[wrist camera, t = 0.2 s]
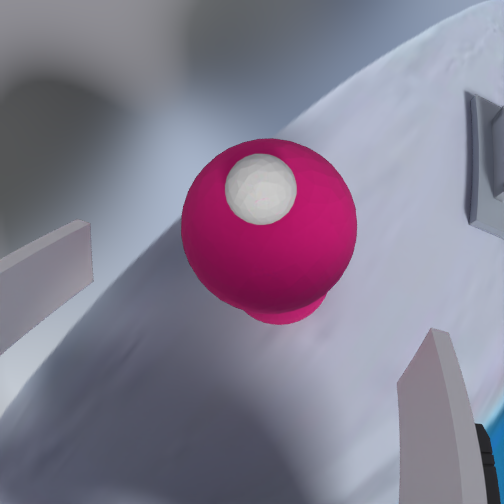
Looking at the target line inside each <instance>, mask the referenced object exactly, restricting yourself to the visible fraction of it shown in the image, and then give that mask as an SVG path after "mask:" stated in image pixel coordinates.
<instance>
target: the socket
mask: <svg viewBox="0 0 504 504" xmlns="http://www.w3.org/2000/svg"><path fill="white" fill-rule="evenodd" d="M470 102H471V117H472V143H473V168H472V194H471V209H470V221H469V225H471V226H474V227H476V228H479V229H481V230H483V231H486V232H488V233H490V234H493V235H495V236H497V237H500V238H502V239H504V106H503V107H502V108H501V107H499V106H497V105H495V104H494V103H492V102H490V101H488V100H486V99H484V98H482V97H480V96H478V95H476V94H475V96H474V97H473V98H472V100H471V101H470Z"/></svg>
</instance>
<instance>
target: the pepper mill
mask: <svg viewBox="0 0 504 504" xmlns="http://www.w3.org/2000/svg"><path fill="white" fill-rule="evenodd" d="M181 236H182V242H183V247H184V251H185V254H186V256H187V259H188V261H189V264H190V266H191V267H192V269H193V270H194V272H195V274H196V275H197V277H198V278H199V280H200V281H201V282H202V283H203V284H204V286H205V287H206V288H207V289H208V290H209V291H210V292H212V293H213V294H214V295H215V296H217V297H218V298H219V299H220V300H222V301H224V302H226V303H228V304H230V305H232V306H234V307H236V308H239V309H242V310H244V311H245V312H246V313H247V314H248V315H250V316H252V317H253V318H255V319H257V320H259V321H262V322H264V323H269V324H276V325H282V324H290V323H294V322H297V321H300V320H302V319H304V318H306V317H307V316H309V315H310V314H311V313H313V312H314V311H315V310H316V309H317V308H318V307H319V306H320V304H321V303H322V301H323V300H324V298H325V297H326V294H327V292H328V291H329V290H330V289H331V288H332V287H333V286H334V285H335V284H336V283H337V282H338V280H339V279H340V278H341V276H342V275H343V273H344V271H345V269H346V268H347V266H348V264H349V262H350V260H351V257H352V255H353V251H354V247H355V243H356V236H357V219H356V209H355V205H354V202H353V199H352V196H351V193H350V191H349V189H348V187H347V185H346V183H345V182H344V180H343V178H342V177H341V175H340V174H339V173H338V172H337V170H336V169H335V168H334V167H333V166H332V164H331V163H329V162H328V161H327V160H326V159H325V158H323V157H322V156H321V155H319V154H318V153H316V152H314V151H313V150H311V149H309V148H308V147H305V146H302V145H300V144H297V143H294V142H291V141H286V140H279V139H257V140H252V141H247V142H244V143H241V144H239V145H236V146H233V147H231V148H229V149H227V150H225V151H224V152H222V153H221V154H219V155H217V156H216V157H215V158H214V159H213V160H212V161H211V162H210V163H208V164H207V165H206V166H205V167H204V168H203V169H202V171H201V172H200V173H199V175H198V176H197V177H196V178H195V180H194V182H193V184H192V186H191V187H190V189H189V191H188V194H187V197H186V200H185V203H184V206H183V211H182V222H181Z"/></svg>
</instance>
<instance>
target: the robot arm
mask: <svg viewBox="0 0 504 504" xmlns="http://www.w3.org/2000/svg"><path fill="white" fill-rule="evenodd" d="M90 230H91V229H90V223H88V222H85V221H82V220H79V219H76V220H74V221H72V222H70V223H68V224H66V225H64V226H62V227H60V228H58V229H56V230H54V231H52V232H50V233H48V234H46V235H44V236H42V237H40V238H38V239H37V240H35V241H33V242H31V243H29V244H27V245H25V246H23V247H22V248H20V249H18V250H16V251H14V252H12V253H11V254H9V255H7V256H5V257H4V258H2V259H0V355H1V354H2V353H4V352H5V351H6V350H7V349H8V348H10V347H11V346H12V345H13V344H14V343H15V342H17V341H18V340H19V339H20V338H21V337H23V336H24V335H25V334H26V333H28V332H29V331H30V330H31V329H33V328H34V327H35V326H36V325H38V324H39V323H40V322H41V321H43V320H44V319H45V318H46V317H48V316H49V315H50V314H51V313H53V312H54V311H55V310H57V309H58V308H59V307H60V306H62V305H63V304H64V303H66V302H67V301H68V300H69V299H71V298H72V297H73V296H75V295H76V294H77V293H79V292H80V291H81V290H82V289H84V288H85V287H87V286H88V285H89V284H91V283H92V282H93V281H94V280H93V268H92V252H91V231H90ZM397 391H398V406H399V428H400V489H399V504H501V502H500V494H499V487H498V480H497V474H496V468H495V467H494V464H495V462H494V457H493V455H492V447H491V442H490V438H489V436H488V434H487V432H486V431H485V429H484V427H483V425H482V424H475V423H474V419H473V414H472V410H471V406H470V402H469V398H468V394H467V391H466V387H465V383H464V380H463V376H462V373H461V369H460V366H459V363H458V360H457V356H456V353H455V350H454V347H453V344H452V341H451V338H450V335H449V333H448V332H445V331H441V330H437V329H433V328H430V330H429V332H428V334H427V335H426V337H425V339H424V341H423V342H422V344H421V346H420V347H419V349H418V351H417V352H416V354H415V356H414V357H413V359H412V360H411V362H410V364H409V365H408V367H407V368H406V370H405V371H404V373H403V375H402V376H401V378H400V379H399V381H398V382H397Z"/></svg>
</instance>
